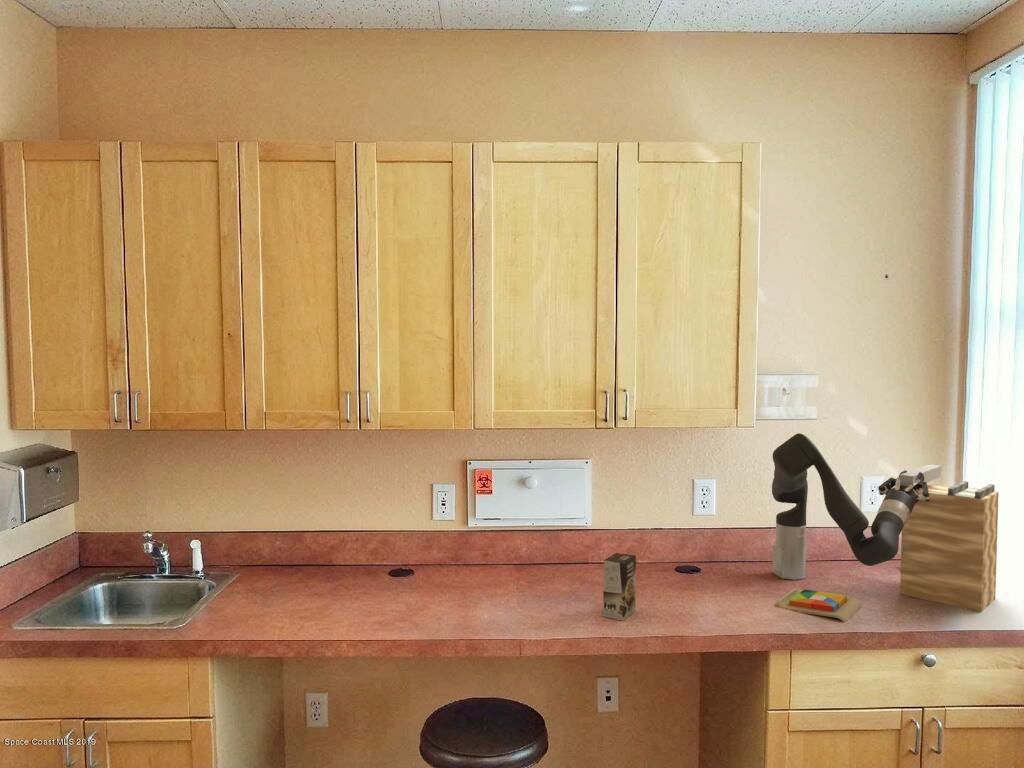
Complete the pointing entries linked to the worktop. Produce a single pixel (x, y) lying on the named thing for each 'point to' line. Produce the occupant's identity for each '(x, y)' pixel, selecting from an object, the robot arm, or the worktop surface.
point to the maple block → (952, 547)
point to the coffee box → (619, 586)
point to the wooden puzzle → (820, 603)
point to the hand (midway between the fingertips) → (913, 473)
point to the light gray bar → (929, 473)
